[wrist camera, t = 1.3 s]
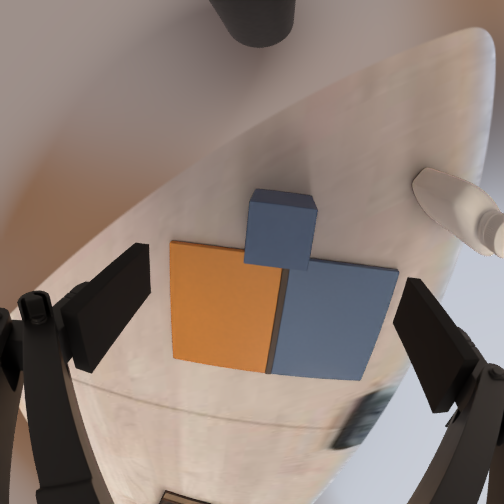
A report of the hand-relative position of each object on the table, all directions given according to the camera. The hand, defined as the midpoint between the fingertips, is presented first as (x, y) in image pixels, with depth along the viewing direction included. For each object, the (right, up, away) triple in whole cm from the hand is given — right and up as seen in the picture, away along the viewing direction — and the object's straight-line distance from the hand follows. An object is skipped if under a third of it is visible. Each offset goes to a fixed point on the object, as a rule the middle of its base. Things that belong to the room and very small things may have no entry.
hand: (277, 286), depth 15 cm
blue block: (+1, +4, +10) cm, 11 cm away
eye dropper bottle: (+14, +6, +8) cm, 18 cm away
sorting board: (+1, -5, +14) cm, 15 cm away
